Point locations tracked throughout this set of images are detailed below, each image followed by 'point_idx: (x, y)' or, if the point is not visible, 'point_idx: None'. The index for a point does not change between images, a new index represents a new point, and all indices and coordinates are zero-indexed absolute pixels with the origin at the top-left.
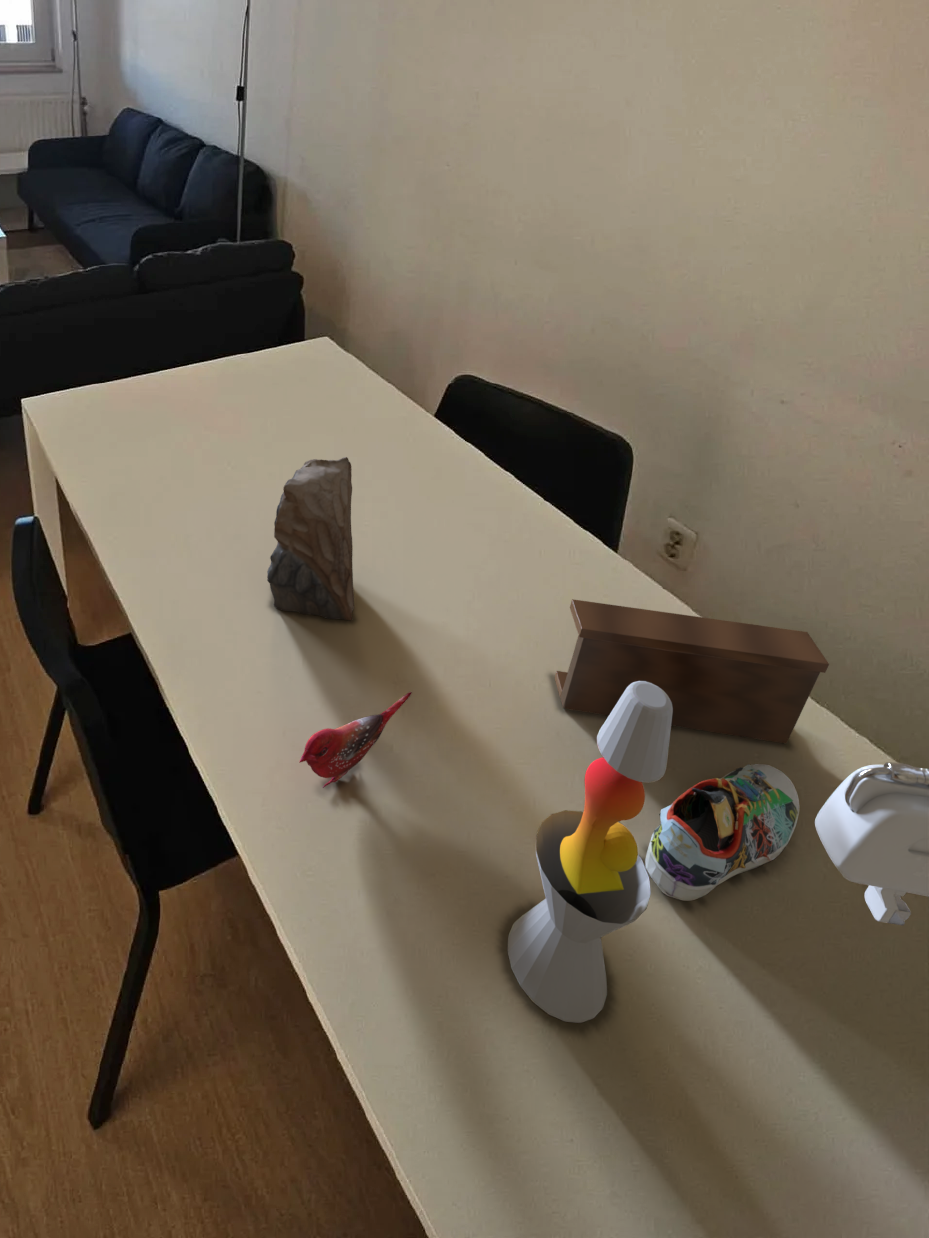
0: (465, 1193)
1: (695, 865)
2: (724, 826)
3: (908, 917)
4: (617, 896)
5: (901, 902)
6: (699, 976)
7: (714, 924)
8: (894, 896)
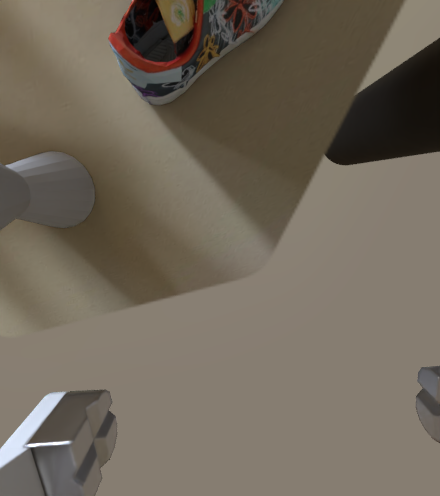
0: (12, 326)
1: (148, 84)
2: (174, 27)
3: (98, 486)
4: (11, 185)
5: (71, 488)
6: (167, 166)
7: (189, 116)
8: (54, 479)
